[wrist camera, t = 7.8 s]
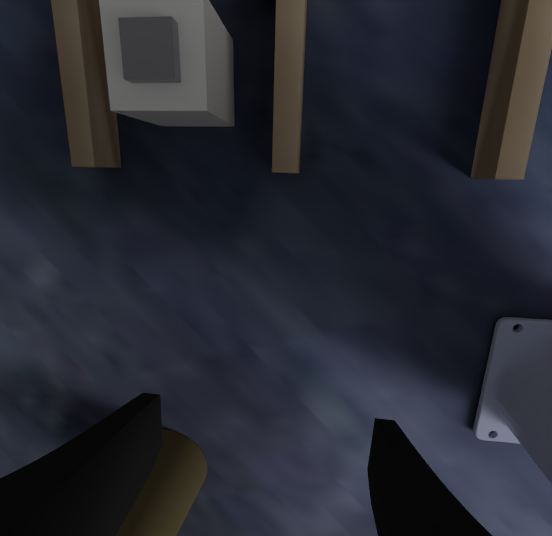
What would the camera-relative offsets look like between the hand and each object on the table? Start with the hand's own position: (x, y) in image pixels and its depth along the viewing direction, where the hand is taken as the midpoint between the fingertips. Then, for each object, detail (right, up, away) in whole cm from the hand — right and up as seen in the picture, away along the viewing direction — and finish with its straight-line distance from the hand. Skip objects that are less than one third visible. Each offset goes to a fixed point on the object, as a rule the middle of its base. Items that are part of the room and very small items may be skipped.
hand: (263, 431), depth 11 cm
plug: (-4, +15, +7) cm, 17 cm away
